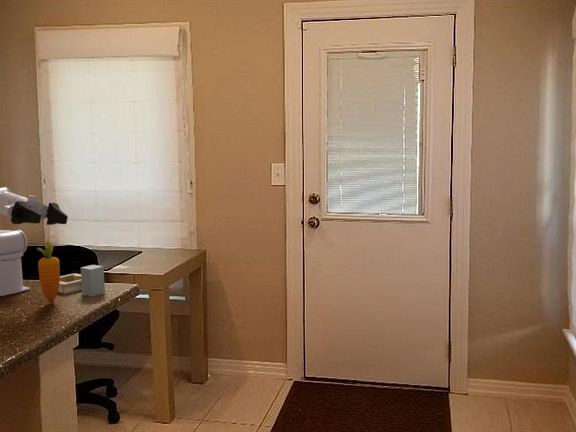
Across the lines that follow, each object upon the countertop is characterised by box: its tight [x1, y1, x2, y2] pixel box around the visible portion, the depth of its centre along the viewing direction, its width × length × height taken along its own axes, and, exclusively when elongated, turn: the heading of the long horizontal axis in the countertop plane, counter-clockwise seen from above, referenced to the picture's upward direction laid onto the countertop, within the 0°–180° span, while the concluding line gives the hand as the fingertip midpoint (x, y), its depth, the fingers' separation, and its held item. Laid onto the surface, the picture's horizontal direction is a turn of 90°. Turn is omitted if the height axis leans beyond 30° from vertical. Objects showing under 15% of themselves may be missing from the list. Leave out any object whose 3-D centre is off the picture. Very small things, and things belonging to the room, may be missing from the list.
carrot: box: [36, 241, 61, 304], centre depth 156 cm, size 5×5×15 cm
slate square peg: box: [80, 264, 106, 297], centre depth 165 cm, size 4×4×7 cm
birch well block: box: [57, 272, 82, 295], centre depth 172 cm, size 9×9×2 cm
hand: (52, 219), depth 155 cm, fingers open, 7 cm apart
